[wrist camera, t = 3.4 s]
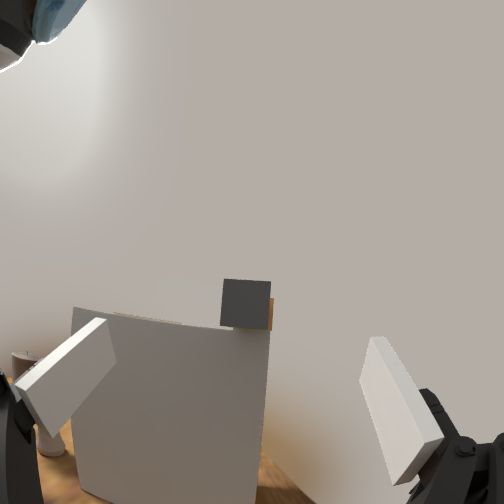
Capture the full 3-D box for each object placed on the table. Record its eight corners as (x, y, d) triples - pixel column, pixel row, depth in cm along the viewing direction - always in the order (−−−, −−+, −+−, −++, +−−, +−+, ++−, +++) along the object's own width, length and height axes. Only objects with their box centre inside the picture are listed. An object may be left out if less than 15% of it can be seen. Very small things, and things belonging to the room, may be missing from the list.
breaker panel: (251, 535, 20) (270, 329, 29) (81, 488, 22) (73, 304, 31) (256, 483, 36) (269, 330, 45) (126, 457, 38) (128, 315, 47)
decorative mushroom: (45, 465, 24) (35, 390, 28) (21, 444, 26) (13, 374, 30) (82, 455, 33) (77, 387, 37) (56, 438, 35) (52, 374, 39)
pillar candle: (50, 407, 49) (49, 356, 53) (24, 410, 40) (22, 354, 44) (31, 395, 51) (31, 348, 55) (7, 397, 42) (6, 345, 46)
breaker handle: (275, 329, 19) (279, 264, 21) (212, 324, 20) (218, 261, 21) (271, 330, 44) (273, 302, 46) (243, 328, 45) (245, 300, 46)
